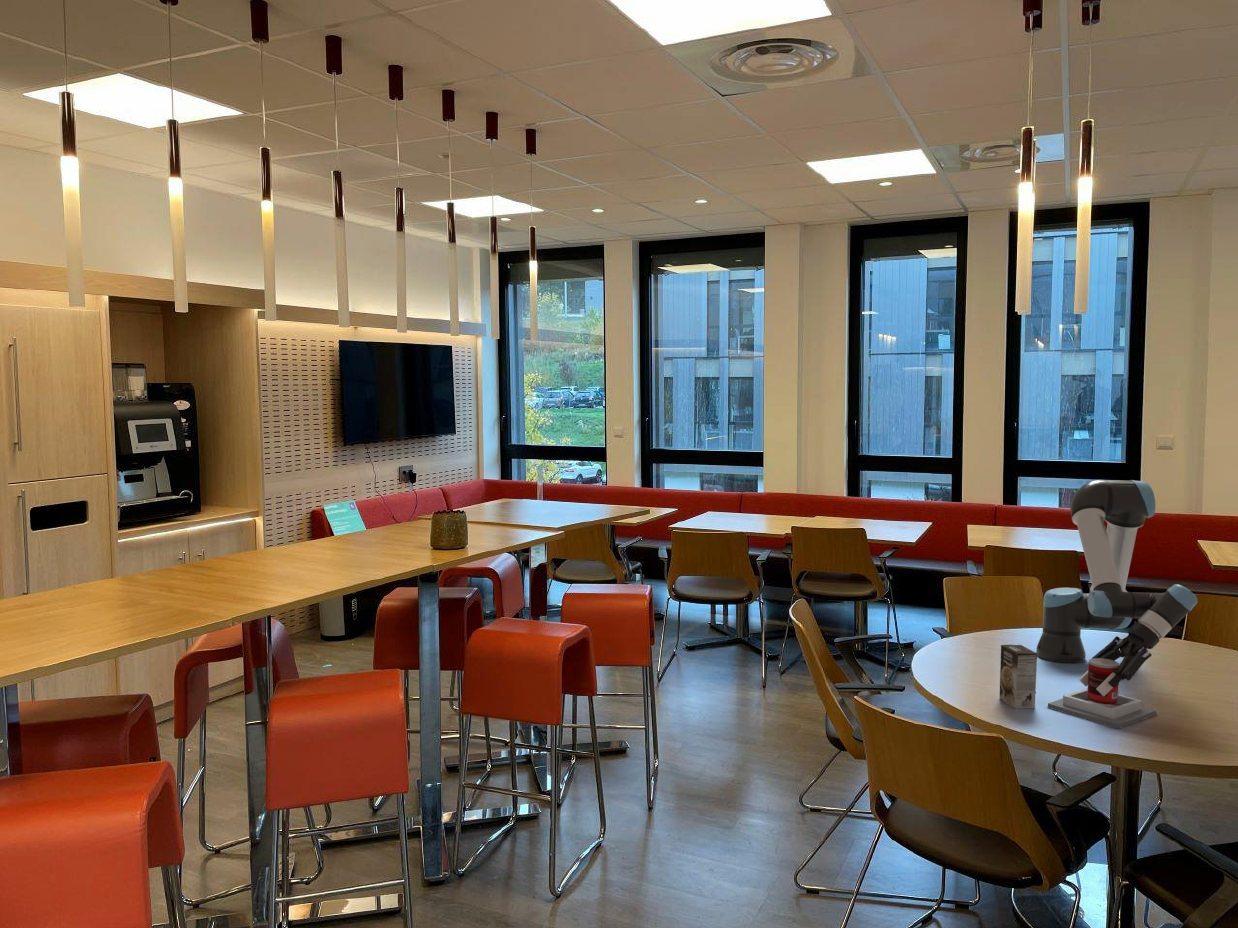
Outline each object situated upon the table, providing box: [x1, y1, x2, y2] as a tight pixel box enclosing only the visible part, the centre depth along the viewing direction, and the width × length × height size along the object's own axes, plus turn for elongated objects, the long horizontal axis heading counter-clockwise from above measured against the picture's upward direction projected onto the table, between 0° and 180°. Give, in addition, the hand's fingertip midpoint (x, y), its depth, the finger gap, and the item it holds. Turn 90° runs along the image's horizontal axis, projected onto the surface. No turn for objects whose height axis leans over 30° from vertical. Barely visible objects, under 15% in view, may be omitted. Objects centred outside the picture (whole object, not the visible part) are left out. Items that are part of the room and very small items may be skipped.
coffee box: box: [999, 644, 1038, 709], centre depth 260 cm, size 9×6×16 cm
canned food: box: [1087, 658, 1120, 704], centre depth 254 cm, size 8×8×11 cm
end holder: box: [1047, 687, 1158, 730], centre depth 254 cm, size 20×20×4 cm
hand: (1091, 687), depth 254 cm, fingers closed on canned food, 8 cm apart
